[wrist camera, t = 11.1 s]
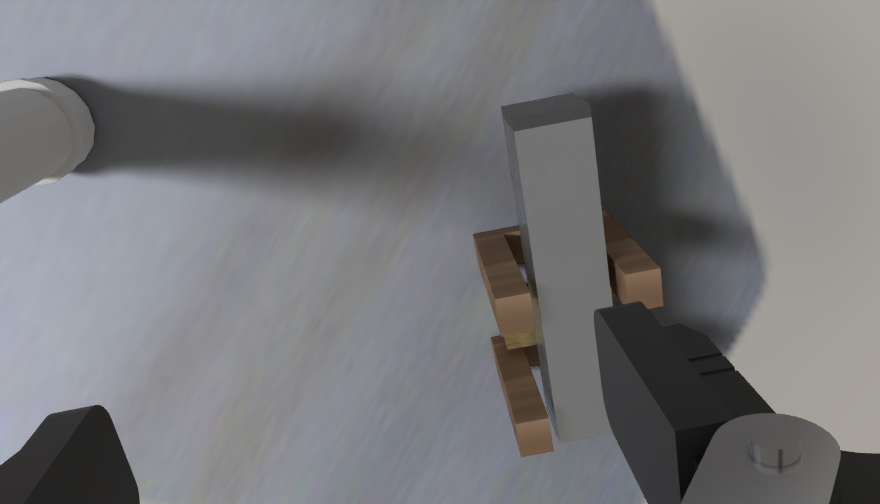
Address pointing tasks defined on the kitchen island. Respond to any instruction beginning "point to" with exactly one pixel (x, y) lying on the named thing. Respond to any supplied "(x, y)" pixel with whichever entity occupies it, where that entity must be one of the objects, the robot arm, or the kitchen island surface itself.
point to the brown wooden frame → (514, 315)
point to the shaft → (562, 253)
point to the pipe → (40, 133)
